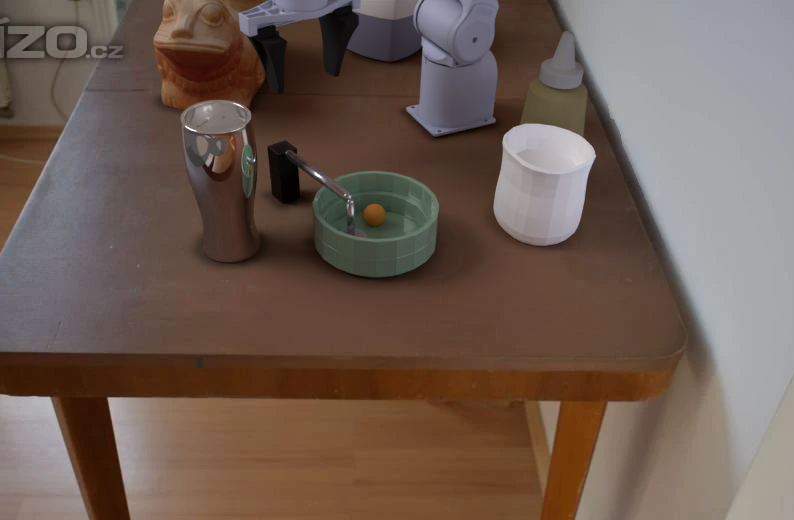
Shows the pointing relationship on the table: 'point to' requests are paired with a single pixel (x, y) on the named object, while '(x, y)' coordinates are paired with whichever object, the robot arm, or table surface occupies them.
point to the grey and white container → (385, 30)
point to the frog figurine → (206, 53)
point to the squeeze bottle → (558, 91)
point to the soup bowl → (388, 242)
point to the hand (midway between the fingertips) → (304, 81)
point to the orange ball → (374, 214)
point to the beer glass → (223, 176)
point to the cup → (542, 183)
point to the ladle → (288, 185)
